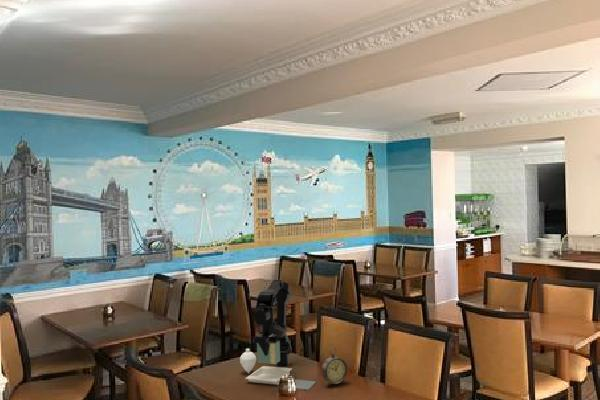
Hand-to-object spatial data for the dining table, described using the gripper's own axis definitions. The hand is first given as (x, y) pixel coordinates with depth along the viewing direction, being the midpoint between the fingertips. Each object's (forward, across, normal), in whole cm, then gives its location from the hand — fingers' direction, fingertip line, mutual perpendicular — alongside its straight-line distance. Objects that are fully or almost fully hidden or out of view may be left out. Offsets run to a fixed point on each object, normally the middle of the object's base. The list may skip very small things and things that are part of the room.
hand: (268, 354), depth 226 cm
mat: (+12, -3, -17) cm, 21 cm away
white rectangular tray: (+12, 0, 0) cm, 12 cm away
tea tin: (+3, 0, 0) cm, 3 cm away
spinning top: (+12, +4, +13) cm, 18 cm away
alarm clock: (+12, +2, -30) cm, 33 cm away
